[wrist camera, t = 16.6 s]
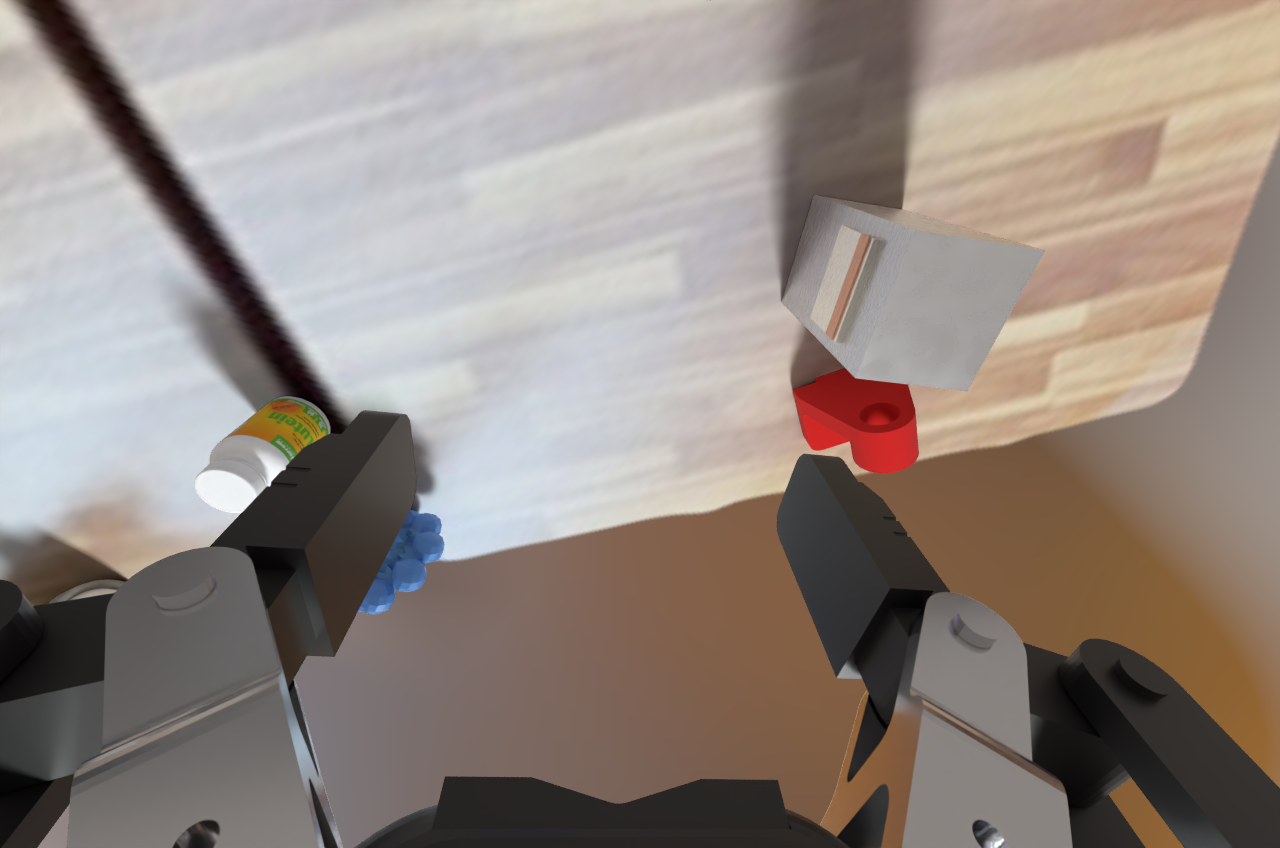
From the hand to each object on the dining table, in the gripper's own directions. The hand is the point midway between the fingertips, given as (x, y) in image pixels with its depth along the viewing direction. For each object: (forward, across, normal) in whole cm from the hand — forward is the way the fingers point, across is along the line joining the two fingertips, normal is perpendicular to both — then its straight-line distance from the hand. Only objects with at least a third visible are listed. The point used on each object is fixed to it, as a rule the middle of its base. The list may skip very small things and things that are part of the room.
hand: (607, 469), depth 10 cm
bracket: (+30, -23, +12) cm, 40 cm away
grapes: (+30, +17, +29) cm, 45 cm away
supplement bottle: (+30, +25, +20) cm, 44 cm away
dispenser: (+30, -18, 0) cm, 35 cm away
